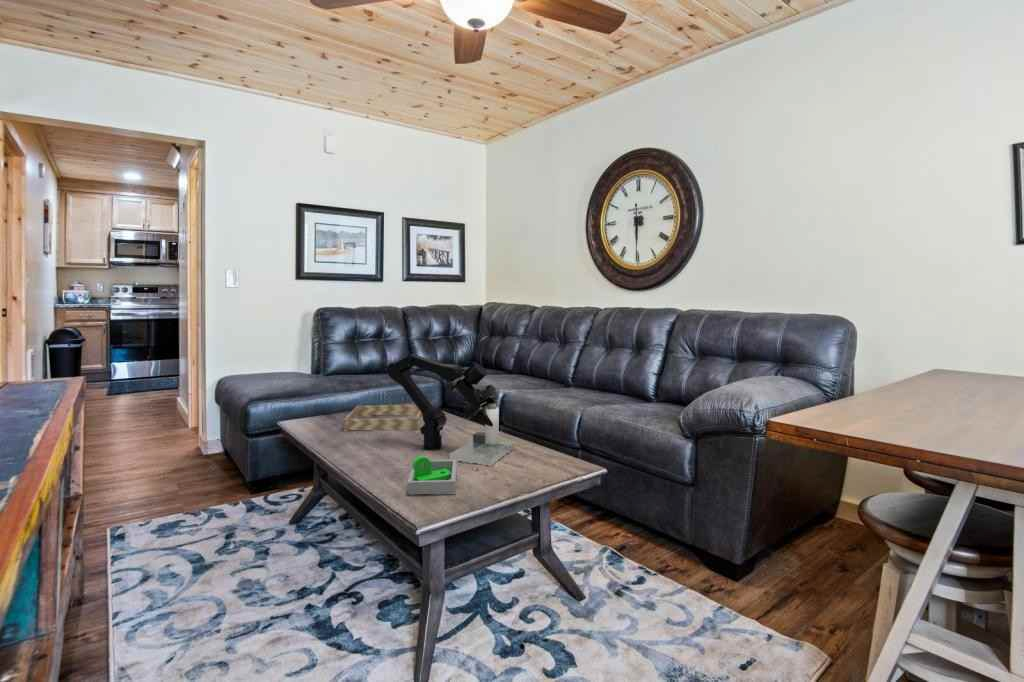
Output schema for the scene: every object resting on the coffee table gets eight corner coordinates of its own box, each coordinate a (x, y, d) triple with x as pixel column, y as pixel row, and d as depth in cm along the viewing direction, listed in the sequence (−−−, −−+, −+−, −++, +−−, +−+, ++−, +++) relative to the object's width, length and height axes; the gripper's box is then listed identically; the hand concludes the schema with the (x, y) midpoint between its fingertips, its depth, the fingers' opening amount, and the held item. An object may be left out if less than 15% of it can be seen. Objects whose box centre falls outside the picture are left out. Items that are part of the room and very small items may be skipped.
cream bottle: (485, 444, 197) (485, 405, 195) (484, 440, 202) (485, 402, 200) (498, 444, 197) (499, 405, 195) (498, 440, 202) (498, 402, 200)
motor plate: (449, 460, 194) (449, 445, 194) (476, 444, 214) (476, 430, 214) (490, 466, 188) (490, 451, 187) (514, 448, 208) (514, 435, 208)
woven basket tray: (343, 431, 233) (343, 420, 232) (357, 415, 261) (356, 405, 260) (418, 429, 235) (418, 418, 235) (423, 414, 264) (423, 404, 263)
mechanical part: (420, 487, 169) (419, 462, 168) (412, 481, 174) (412, 457, 173) (453, 479, 176) (453, 456, 175) (445, 474, 181) (445, 451, 180)
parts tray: (407, 495, 161) (407, 482, 161) (414, 472, 182) (414, 460, 181) (455, 493, 163) (455, 481, 162) (456, 471, 183) (456, 459, 182)
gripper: (471, 382, 190) (499, 416, 187) (492, 375, 207) (518, 405, 204) (451, 402, 193) (479, 435, 190) (474, 393, 211) (499, 423, 208)
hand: (495, 424), depth 198 cm, fingers closed on cream bottle, 5 cm apart
